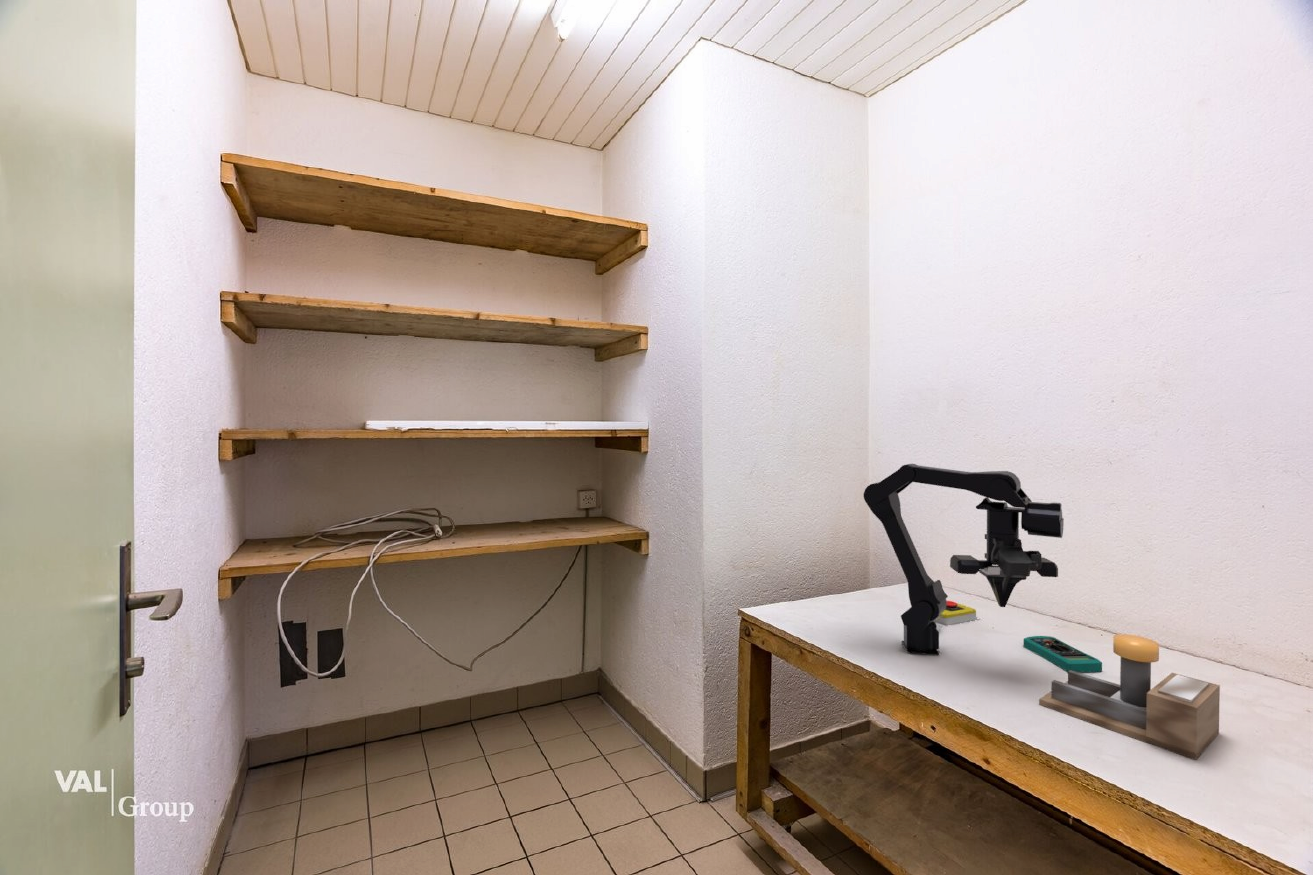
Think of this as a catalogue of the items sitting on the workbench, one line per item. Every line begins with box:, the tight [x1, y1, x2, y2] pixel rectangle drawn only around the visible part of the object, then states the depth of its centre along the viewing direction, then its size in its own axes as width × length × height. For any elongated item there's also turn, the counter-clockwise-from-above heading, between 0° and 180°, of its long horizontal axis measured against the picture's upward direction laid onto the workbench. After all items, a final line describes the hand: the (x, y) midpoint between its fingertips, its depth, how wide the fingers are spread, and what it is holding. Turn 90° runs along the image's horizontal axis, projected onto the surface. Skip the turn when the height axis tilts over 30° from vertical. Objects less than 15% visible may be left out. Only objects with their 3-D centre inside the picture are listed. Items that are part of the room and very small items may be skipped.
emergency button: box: [936, 600, 981, 628], centre depth 152 cm, size 9×4×15 cm
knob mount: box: [1038, 670, 1221, 761], centre depth 100 cm, size 21×13×8 cm, turn 35°
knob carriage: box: [1110, 633, 1160, 709], centre depth 99 cm, size 6×6×13 cm
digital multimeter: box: [1023, 635, 1103, 674], centre depth 126 cm, size 7×15×3 cm, turn 2°
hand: (1002, 606), depth 120 cm, fingers closed
